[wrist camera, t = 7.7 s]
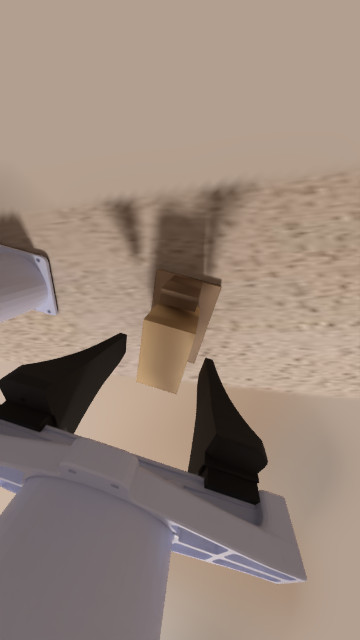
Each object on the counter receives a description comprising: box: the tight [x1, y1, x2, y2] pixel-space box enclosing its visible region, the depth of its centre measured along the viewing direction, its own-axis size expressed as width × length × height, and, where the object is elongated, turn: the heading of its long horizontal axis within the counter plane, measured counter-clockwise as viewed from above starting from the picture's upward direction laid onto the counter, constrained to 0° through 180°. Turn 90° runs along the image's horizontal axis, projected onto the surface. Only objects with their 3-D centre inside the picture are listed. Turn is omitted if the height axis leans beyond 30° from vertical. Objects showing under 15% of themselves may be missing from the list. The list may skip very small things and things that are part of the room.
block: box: [137, 302, 200, 394], centre depth 15 cm, size 4×7×5 cm, turn 168°
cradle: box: [151, 269, 221, 363], centre depth 17 cm, size 7×11×6 cm, turn 168°
